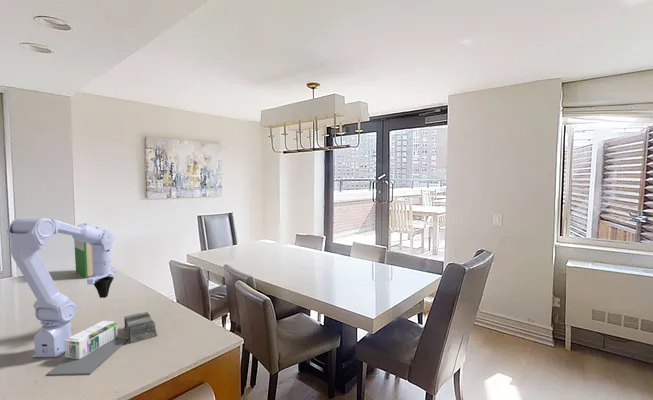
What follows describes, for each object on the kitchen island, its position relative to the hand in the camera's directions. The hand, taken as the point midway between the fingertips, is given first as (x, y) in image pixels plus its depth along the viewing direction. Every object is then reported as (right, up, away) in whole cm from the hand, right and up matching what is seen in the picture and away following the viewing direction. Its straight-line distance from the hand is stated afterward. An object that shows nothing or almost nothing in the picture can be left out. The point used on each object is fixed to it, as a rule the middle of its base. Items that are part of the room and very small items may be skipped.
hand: (103, 297), depth 127 cm
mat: (+11, -12, -21) cm, 27 cm away
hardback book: (-51, -6, +64) cm, 82 cm away
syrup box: (+9, -8, -10) cm, 16 cm away
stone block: (+17, -11, -6) cm, 21 cm away
